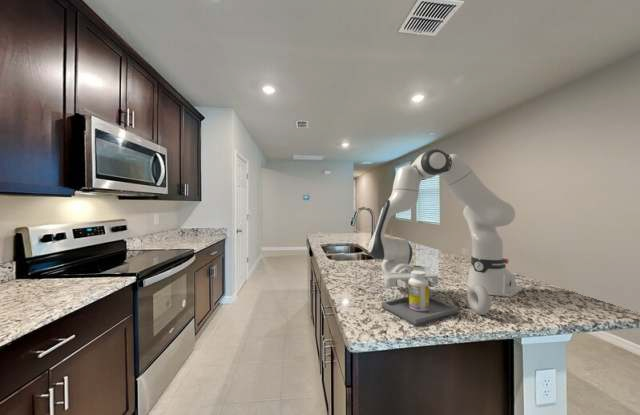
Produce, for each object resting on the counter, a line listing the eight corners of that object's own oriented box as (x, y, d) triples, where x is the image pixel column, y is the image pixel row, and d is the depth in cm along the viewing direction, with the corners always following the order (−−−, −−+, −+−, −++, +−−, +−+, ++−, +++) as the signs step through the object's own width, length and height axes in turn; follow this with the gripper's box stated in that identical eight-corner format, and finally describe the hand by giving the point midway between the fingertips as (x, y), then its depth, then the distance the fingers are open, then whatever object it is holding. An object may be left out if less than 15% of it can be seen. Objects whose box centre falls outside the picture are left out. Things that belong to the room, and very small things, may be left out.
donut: (493, 320, 81) (493, 289, 81) (482, 320, 81) (482, 289, 81) (474, 307, 91) (474, 280, 91) (465, 307, 91) (464, 280, 91)
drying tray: (421, 298, 100) (421, 293, 100) (458, 313, 86) (458, 307, 86) (381, 307, 92) (381, 302, 92) (415, 326, 77) (415, 319, 77)
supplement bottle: (424, 304, 92) (424, 269, 92) (432, 312, 85) (431, 274, 85) (406, 304, 92) (405, 269, 92) (412, 312, 85) (412, 274, 85)
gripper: (377, 267, 101) (391, 277, 87) (426, 266, 103) (446, 275, 89) (378, 283, 101) (391, 295, 87) (426, 281, 103) (447, 293, 89)
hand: (419, 285), depth 88 cm, fingers open, 8 cm apart
